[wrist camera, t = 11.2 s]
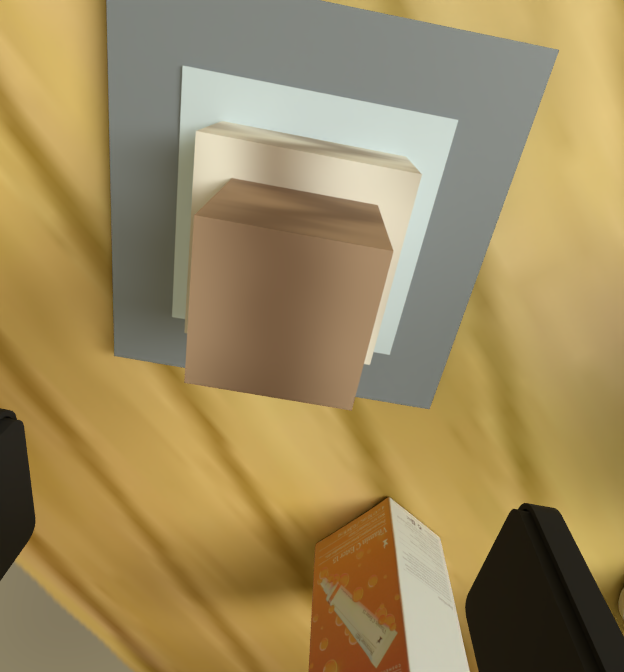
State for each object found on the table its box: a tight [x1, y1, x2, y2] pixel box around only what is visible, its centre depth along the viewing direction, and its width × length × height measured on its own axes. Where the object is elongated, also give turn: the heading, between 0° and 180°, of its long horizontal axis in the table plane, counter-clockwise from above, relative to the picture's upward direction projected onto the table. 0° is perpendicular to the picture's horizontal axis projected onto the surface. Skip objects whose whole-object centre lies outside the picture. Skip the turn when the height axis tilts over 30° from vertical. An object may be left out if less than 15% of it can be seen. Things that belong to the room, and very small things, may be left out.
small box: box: [309, 497, 470, 672], centre depth 33 cm, size 8×6×13 cm
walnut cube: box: [184, 178, 394, 410], centre depth 18 cm, size 6×6×6 cm
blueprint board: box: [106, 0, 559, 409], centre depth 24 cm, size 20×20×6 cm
